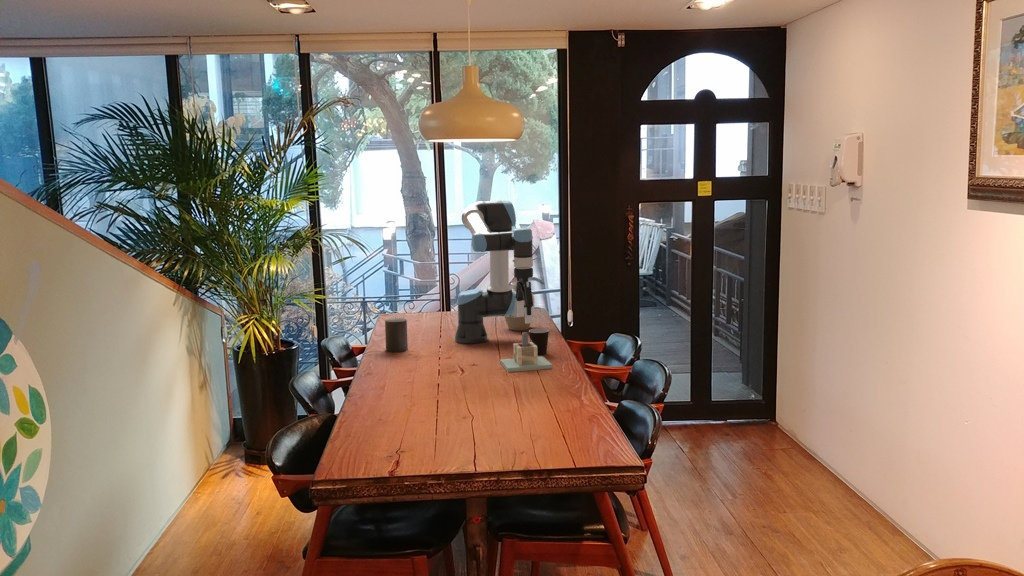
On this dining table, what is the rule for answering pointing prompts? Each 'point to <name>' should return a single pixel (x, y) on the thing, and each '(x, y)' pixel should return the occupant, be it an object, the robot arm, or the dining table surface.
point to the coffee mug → (539, 339)
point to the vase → (512, 319)
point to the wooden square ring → (525, 354)
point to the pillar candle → (396, 334)
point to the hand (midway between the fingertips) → (524, 319)
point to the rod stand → (513, 366)
